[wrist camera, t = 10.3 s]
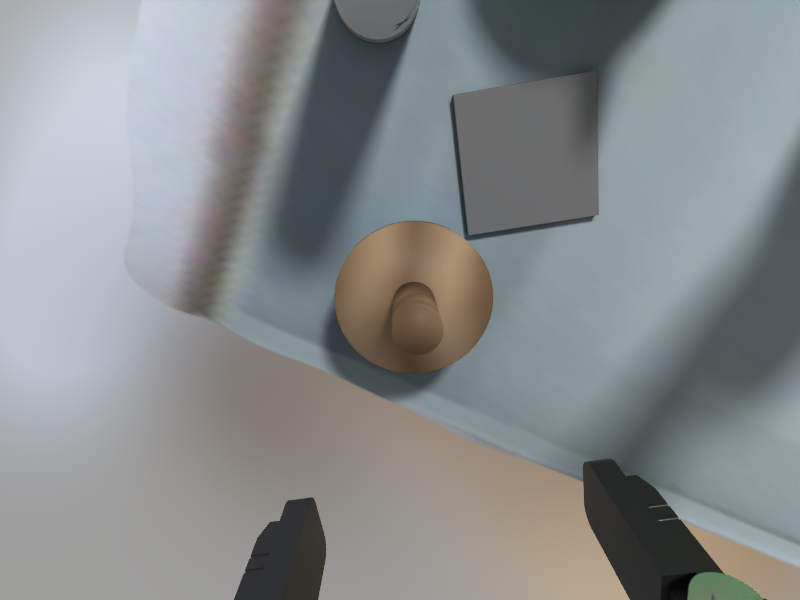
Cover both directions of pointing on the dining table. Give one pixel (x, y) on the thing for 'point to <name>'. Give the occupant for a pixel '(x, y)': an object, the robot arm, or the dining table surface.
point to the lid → (413, 297)
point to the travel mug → (377, 18)
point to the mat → (528, 152)
